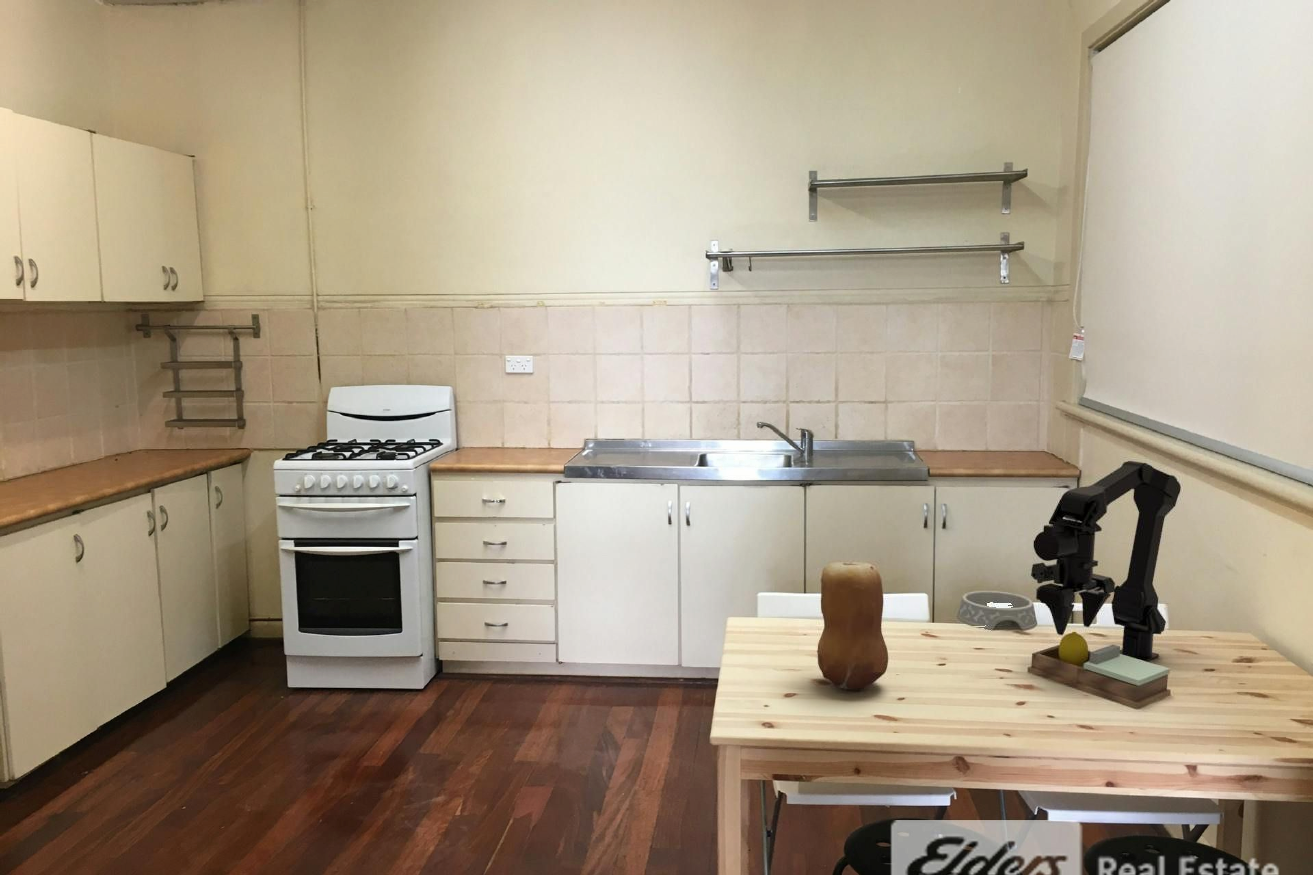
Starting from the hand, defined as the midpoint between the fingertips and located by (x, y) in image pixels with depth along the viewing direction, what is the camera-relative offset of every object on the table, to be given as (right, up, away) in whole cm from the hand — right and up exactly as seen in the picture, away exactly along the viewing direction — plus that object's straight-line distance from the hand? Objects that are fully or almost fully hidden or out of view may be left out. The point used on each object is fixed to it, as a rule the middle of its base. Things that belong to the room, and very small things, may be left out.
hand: (1073, 630), depth 200 cm
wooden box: (+3, -10, -3) cm, 11 cm away
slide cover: (+7, -6, -8) cm, 12 cm away
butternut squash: (-46, -10, -6) cm, 48 cm away
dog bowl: (-3, -5, +38) cm, 38 cm away
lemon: (0, -8, +1) cm, 9 cm away
